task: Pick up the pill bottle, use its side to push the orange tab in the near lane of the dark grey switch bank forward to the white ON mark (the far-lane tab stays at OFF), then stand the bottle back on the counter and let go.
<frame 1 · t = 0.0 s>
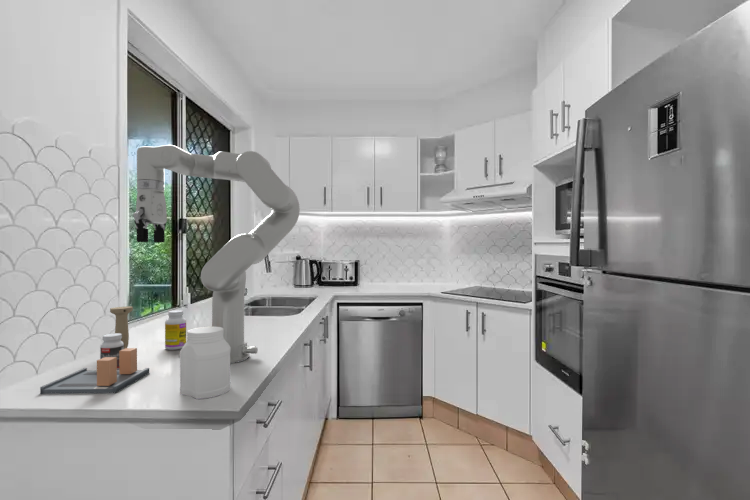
hand: (151, 242, 127), 37 cm above the countertop, tool pointing down, fingers open, 9 cm apart
handle: (121, 353, 135), on the countertop
tab 1: (128, 360, 110), point 4 cm above the countertop, slide at 0.0 cm
jar: (205, 391, 100), on the countertop
pill bottle: (112, 369, 117), on the countertop
supplement bottle: (175, 348, 142), on the countertop
switch bank: (98, 382, 106), on the countertop
tab 2: (106, 371, 101), point 4 cm above the countertop, slide at 0.0 cm
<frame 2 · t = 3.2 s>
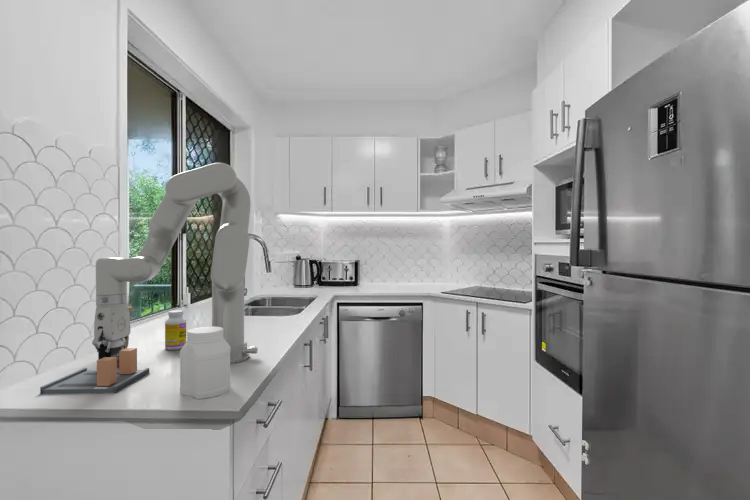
hand: (112, 361, 117), 2 cm above the countertop, tool pointing down, fingers closed on pill bottle, 5 cm apart
pill bottle: (112, 369, 117), on the countertop, touching gripper
everything else where it was.
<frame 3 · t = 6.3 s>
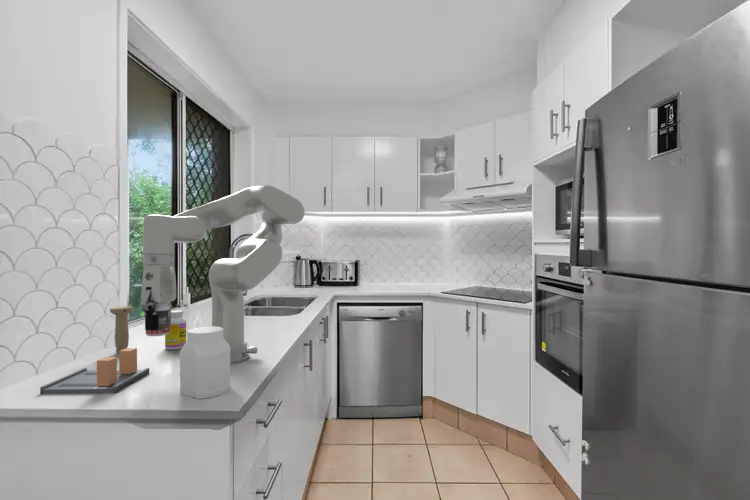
hand: (158, 327, 110), 14 cm above the countertop, tool pointing down, fingers closed on pill bottle, 5 cm apart
pill bottle: (157, 335, 110), point 11 cm above the countertop, touching gripper
everything else where it was.
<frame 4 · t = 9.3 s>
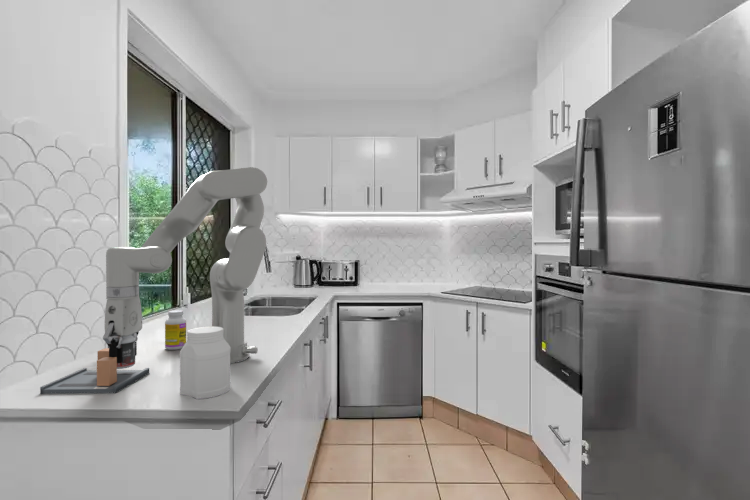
hand: (123, 358, 110), 5 cm above the countertop, tool pointing down, fingers closed on pill bottle, 5 cm apart
tab 1: (106, 361, 110), point 4 cm above the countertop, slide at 5.7 cm, touching pill bottle
pill bottle: (123, 367, 110), point 3 cm above the countertop, touching gripper, tab 1
everything else where it was.
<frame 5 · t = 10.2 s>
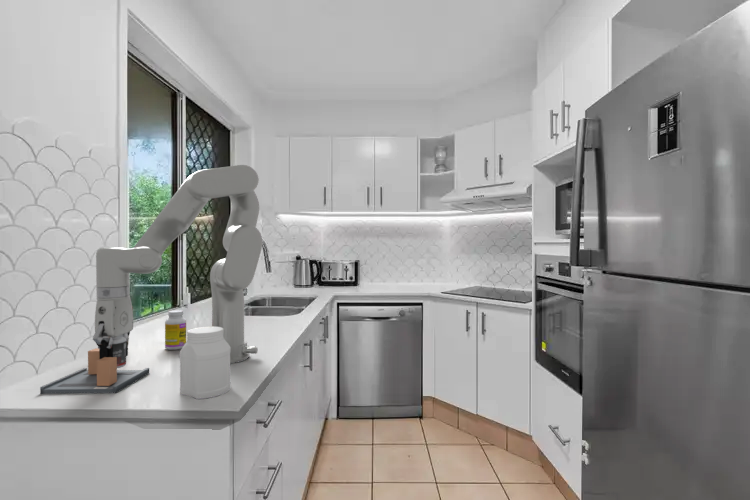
hand: (114, 359, 110), 5 cm above the countertop, tool pointing down, fingers closed on pill bottle, 5 cm apart
tab 1: (97, 361, 110), point 4 cm above the countertop, slide at 8.3 cm
pill bottle: (114, 367, 110), point 3 cm above the countertop, touching gripper
everything else where it was.
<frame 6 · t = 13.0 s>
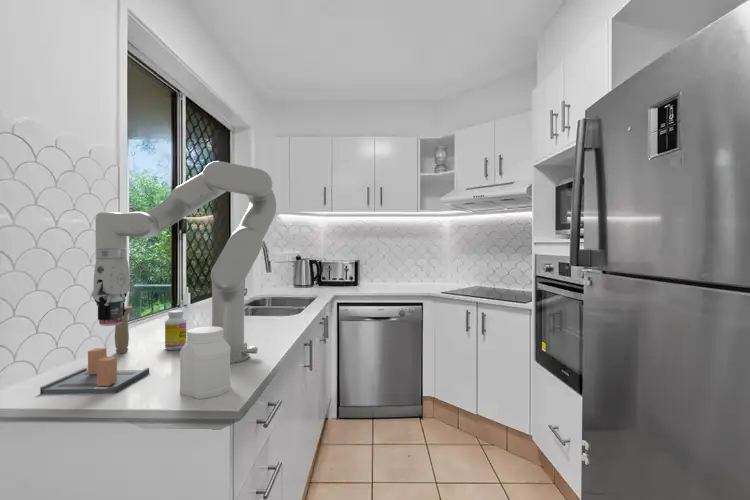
hand: (111, 317, 117), 15 cm above the countertop, tool pointing down, fingers closed on pill bottle, 5 cm apart
pill bottle: (111, 324, 117), point 13 cm above the countertop, touching gripper
everything else where it was.
when the fingers open (3 cm above the countertop, at t = 15.4 s): pill bottle drops 1 cm, on the countertop.
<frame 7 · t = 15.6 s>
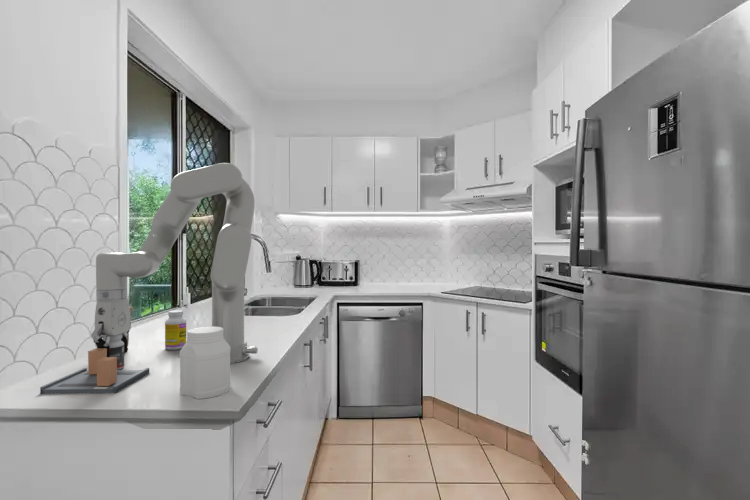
hand: (112, 355, 118), 4 cm above the countertop, tool pointing down, fingers open, 7 cm apart
tab 1: (97, 361, 110), point 4 cm above the countertop, slide at 8.2 cm, touching gripper
pill bottle: (112, 369, 118), on the countertop
everything else where it was.
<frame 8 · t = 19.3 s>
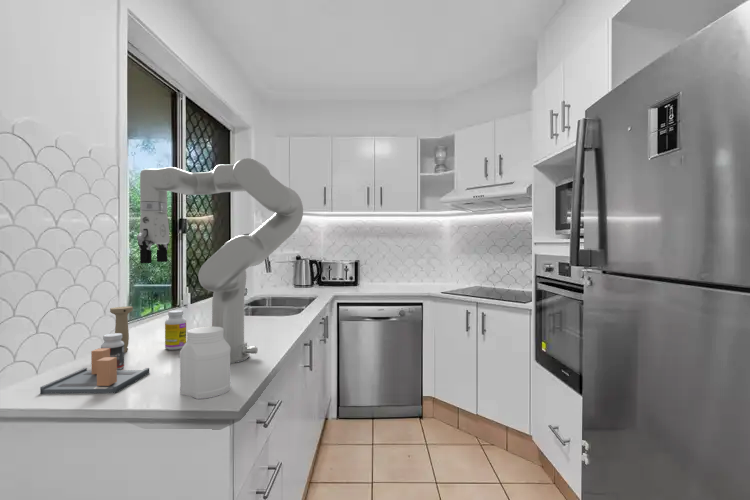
hand: (154, 262, 129), 30 cm above the countertop, tool pointing down, fingers open, 9 cm apart
tab 1: (100, 361, 110), point 4 cm above the countertop, slide at 7.3 cm
everything else where it was.
at the end: tab 1 slide at 7.3 cm; tab 2 slide at 0.0 cm; pill bottle tilted 0° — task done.
